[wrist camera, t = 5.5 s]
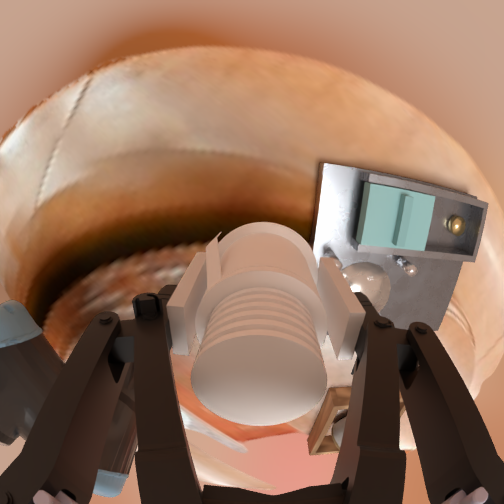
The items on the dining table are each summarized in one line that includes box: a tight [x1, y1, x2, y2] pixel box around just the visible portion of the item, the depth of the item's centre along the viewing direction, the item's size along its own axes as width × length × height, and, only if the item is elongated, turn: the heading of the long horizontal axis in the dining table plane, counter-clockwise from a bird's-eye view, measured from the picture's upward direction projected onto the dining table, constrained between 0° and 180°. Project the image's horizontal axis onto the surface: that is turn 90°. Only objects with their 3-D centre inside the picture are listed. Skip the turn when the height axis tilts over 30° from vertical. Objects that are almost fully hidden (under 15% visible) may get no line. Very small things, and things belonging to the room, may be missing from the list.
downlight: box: [191, 222, 327, 426], centre depth 13 cm, size 8×7×10 cm
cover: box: [356, 182, 435, 251], centre depth 24 cm, size 8×6×2 cm
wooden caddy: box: [307, 387, 406, 455], centre depth 40 cm, size 15×17×4 cm
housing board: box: [310, 163, 488, 342], centre depth 28 cm, size 22×20×5 cm
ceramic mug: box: [332, 417, 346, 450], centre depth 38 cm, size 11×8×8 cm
